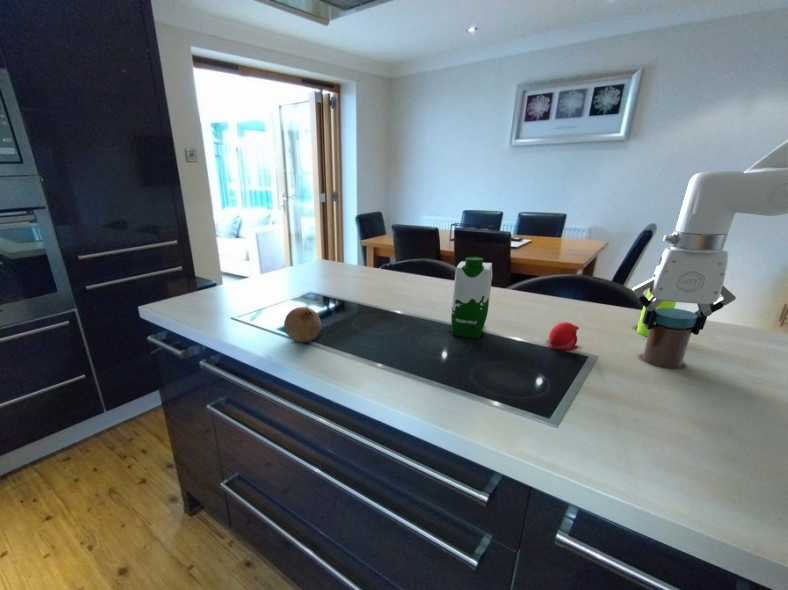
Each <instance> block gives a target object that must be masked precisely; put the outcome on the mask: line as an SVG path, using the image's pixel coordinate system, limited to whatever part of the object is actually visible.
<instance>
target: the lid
mask: <svg viewBox="0 0 788 590" xmlns="http://www.w3.org/2000/svg"><path fill="white" fill-rule="evenodd" d="M655 311H656V317H655V320H654V322H655V323H658V324H661V325H664V326H669V327H677V328H689V327H694V326H695V324H696V322H697V318H698V315H697V314H695V312H693V311H689V310H686V309H681V308H658V309H655Z"/></svg>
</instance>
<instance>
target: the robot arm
mask: <svg viewBox="0 0 788 590" xmlns="http://www.w3.org/2000/svg"><path fill="white" fill-rule="evenodd" d="M736 214H748V215H757V216H764V217H774V216H775V217H776V216H781V215H782V216H783V215H786V214H788V139H786V140H785V141H784V142H782V143H781V144H779V145H778V146H777V147H775V148H774V149H772V150H771V151H770V152H768V153H767V154H765V156H763V157H762V158H761V159H759V160H757V162H755V163H754V164H752V165H751V166H750V167H749V168H747V169H746V170H745V171H741V170H739V171H738V170H715V171H714V170H712V171H702V172H701V171H700V172H698V173H695V174H694V175H693V176H691V178H690V179H689V181H688V184H687V187H686V192H685V195H684V197H683V202H682V205H681V208H680V213H679V216H678V220H677V221H676V226H675V229H674V230H673V232H672V233H670V234H665V235H664V236H663V238H662V242H663V243H668V244H669V245H670V246H667V247H665V249H664V251H663V252H662V254H661V256H660V258H659V261H658V262H657V265H656V267H655V270H654V272H653V274H652V277H651V278H650V279H648V280H645V281H644V282H642V283H640V284H638V285H636V286H634V287H633V288H632V289H631V291H632V293H633V295H635V297H636V298H637V299H638V301H639V302H640V303H641V305H642V306H643V307H644V306H645V307H646V310H645V313H644V317H643V320H642V323H643V324H644V325H645V327H646V328H647V329H648V330H650V329H652V327H653V323H654V320H655V317H656V311H655V309H656V307H657V306H658V305H659V304H660V303H661V302H662V301H671V302H676V303H682V304H695V305H696V304H697V307H698V309H697V310H696V311H695V312H694V313H695V314H697V315H698V318H697V322H696V324H695V326H694V327H693V330H692V333H691V334H693V335H697V336H698V335H699V334H700V331H703V329H704V327H705V325H706V322H707V319H708V317H710V316H711V315H712V314H713V313H715V312H717V311H719V310H721V309H723V308H724V307H725V306H727V305H729V304H731V303H732V302H734V301H735V300H736V299H737V297H736V295H734V294H733V293H732V292H731V290H729V289H728V288H727V287H725V286H724V283H725V282H724V281H725V278H726V273H727V268H728V261H729V251H727V250H725V249H724V247H725V244H726V242H727V238H728V235H729V232H730V229H731V226H732V224H733V221H734V218H735V215H736ZM648 289H649V292H650V293H651V294H652V297H651V298H650V299H649V300H648V299H647V298H646V296H645V294H644V292H645V291H648ZM720 296H721V297H720Z"/></svg>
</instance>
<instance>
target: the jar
mask: <svg viewBox="0 0 788 590" xmlns="http://www.w3.org/2000/svg"><path fill="white" fill-rule="evenodd" d="M692 330H693V327H689V328H677V327H669V326H664V325H661V324H658V323H655V322H654V323H653V327H652V329H650V330H649V334H648V336H647V338H646V341H645V346H644V349H643V354H642V358H641V359H642V360H643V361H644V362H645V363H648V364H651V365H653V366H656V367H660V368H666V369H679V368H681V367H682V365H683V362H684V360H685V356H686V353H687V350H688V347H689V344H690V340H691V336H692V334H693V333H692Z"/></svg>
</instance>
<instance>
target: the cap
mask: <svg viewBox="0 0 788 590" xmlns="http://www.w3.org/2000/svg"><path fill="white" fill-rule="evenodd" d="M579 329H580V327H579V326H577V325H575V324H573V323H572V322H568V321H567V322H566V321H564V322H563V321H562V322H560V323H557V324H556V325H554V326H553V327H552V328H551V330H550V331H549V334H548V344H549V347H550V348H551V349H553V350H555V351H561V352H562V351H563V352H568V351H569V352H570V351H573V350H577V349H578V345H576V344H577V342H578V335H577V331H578V330H579Z"/></svg>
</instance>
